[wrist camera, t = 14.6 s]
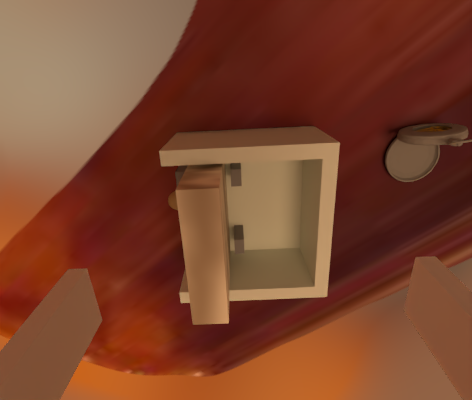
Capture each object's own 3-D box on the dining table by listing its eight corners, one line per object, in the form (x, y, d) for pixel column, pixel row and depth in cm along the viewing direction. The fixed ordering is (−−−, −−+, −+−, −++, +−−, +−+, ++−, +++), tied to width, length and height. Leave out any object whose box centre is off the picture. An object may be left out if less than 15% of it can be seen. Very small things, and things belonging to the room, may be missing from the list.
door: (224, 148, 37) (219, 188, 24) (230, 247, 43) (228, 323, 30) (181, 150, 37) (154, 191, 24) (193, 249, 43) (175, 325, 30)
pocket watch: (399, 189, 41) (447, 222, 32) (365, 143, 39) (406, 164, 29) (455, 148, 39) (524, 171, 30) (422, 97, 37) (486, 105, 27)
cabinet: (313, 125, 38) (339, 142, 29) (307, 250, 45) (326, 296, 35) (177, 132, 38) (159, 151, 29) (191, 255, 45) (180, 302, 36)
